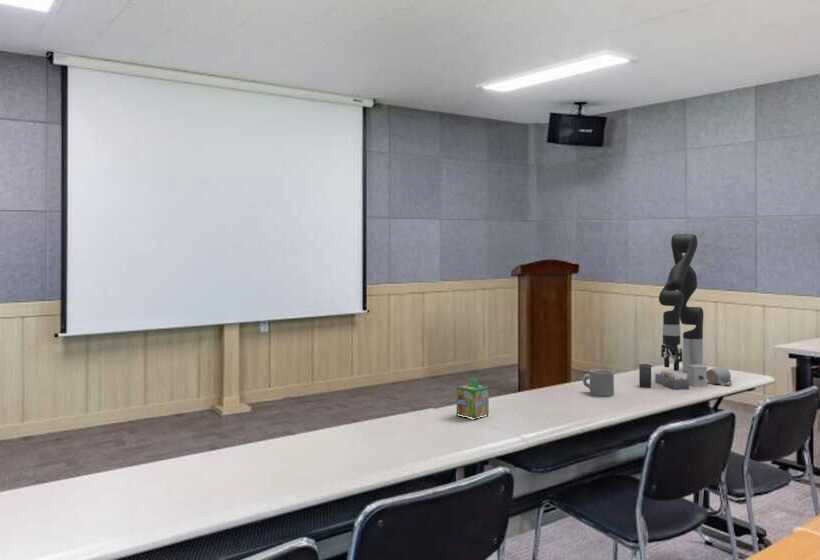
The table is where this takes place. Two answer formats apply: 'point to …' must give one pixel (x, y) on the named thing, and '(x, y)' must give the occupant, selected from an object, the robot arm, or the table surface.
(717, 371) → the ceramic mug
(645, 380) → the dark grey upright block
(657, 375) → the breaker strip
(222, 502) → the table surface
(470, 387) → the chalk box
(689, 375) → the junction box
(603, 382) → the coffee mug
